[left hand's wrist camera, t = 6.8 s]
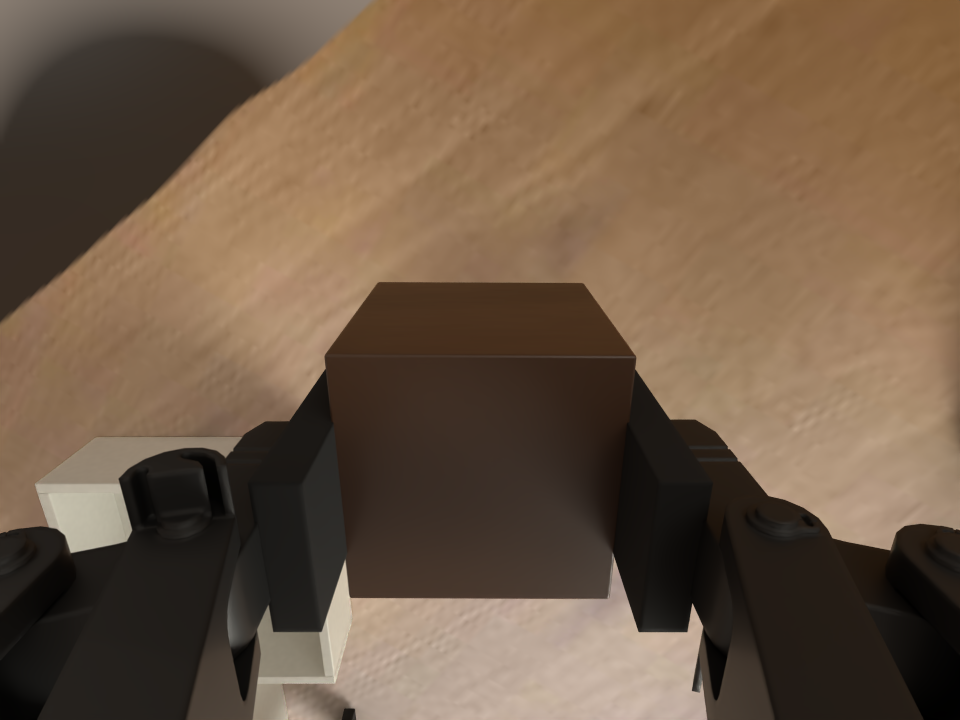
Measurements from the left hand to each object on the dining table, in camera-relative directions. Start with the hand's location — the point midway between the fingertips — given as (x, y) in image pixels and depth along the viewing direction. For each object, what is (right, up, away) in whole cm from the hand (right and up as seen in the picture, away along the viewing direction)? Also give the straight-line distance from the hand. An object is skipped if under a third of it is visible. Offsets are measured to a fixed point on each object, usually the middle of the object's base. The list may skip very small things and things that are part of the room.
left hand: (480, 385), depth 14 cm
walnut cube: (0, 0, 0) cm, 0 cm away
